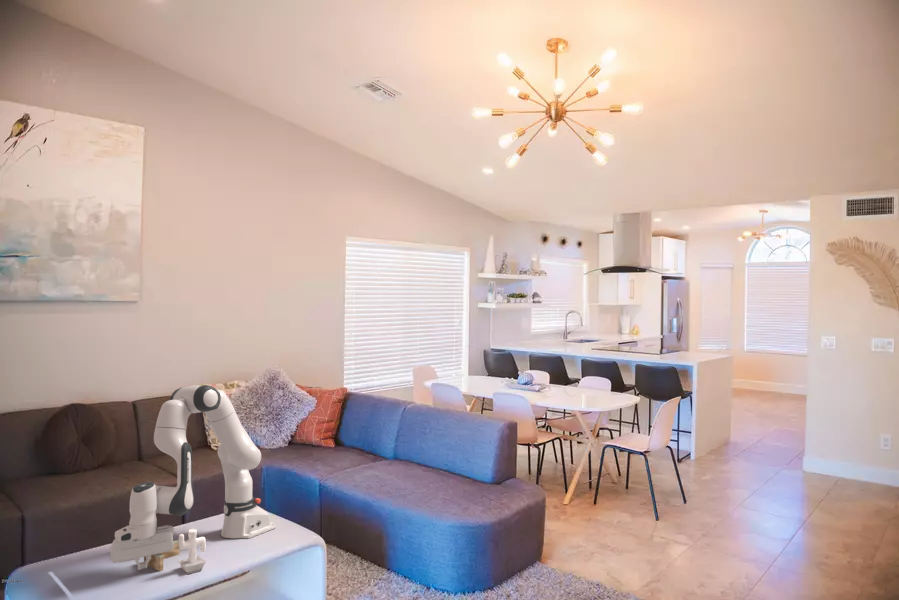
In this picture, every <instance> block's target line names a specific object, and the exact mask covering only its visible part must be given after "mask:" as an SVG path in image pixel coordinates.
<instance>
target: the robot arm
mask: <svg viewBox="0 0 899 600" xmlns="http://www.w3.org/2000/svg"><path fill="white" fill-rule="evenodd" d="M198 413H204V414H205V415H206V419H207V420H208V423H209V425H210V427H211V429H212V431H213V433H214V436H215V438H216V439H217V440H218V441H219V442H220V444H219V445H218V448H217V456H218V458H219V460H220V463H221V468H222V473H223V476H224V477H223V478H224V500H223V514H224V516H223V524H222V529H221V532H220V536H221V537H223V538H224V539H225V538H226V539H250V538H253V537H256V536H258V535H262V534H264V533H266V532H269V531H271V530H273V529H276V523H275V522H273V521H271V518H270V514H269V513H268V511H267V510H265V509H264V508H263V507H260V506H259V504H261V502H262V500H261V498H259V497H257V498H256V497H254V496H253V477H252V475H251V474H250V471H251V470H253V469H255V468H256V467H258V466H259V464H260V462H261V460H262V452H261V450H260V449H259V447H257V446H256V444H255V443H254V441H253V440H252V439H251V437H250V435H249V434H248V432H247V431H246V430H245V428H244V426H243V424H242V423H241V420H240V418H239V416H238V414H237V412H236V409H235V408H234V406H233V404H232V401H231V400H230V398H229V396H228V395H227V393H226V392H225V391H223V390H221V389H217V388H216V387H214V386H211V385H207V384H202V385H201V384H199V385H198V384H195V385H190V386H182V387H179V388H177V389H175V390H174V391H173V392H172V393H171V396H170V398H169V400H167V401H165V402H163V404H162V405H161V407H160V410H159V412H158V414H157V415H158V417H157V419H156V424H155V428H154V432H153V443H154V445H155V446H156V448H158V450H159V451H160V452H162V453H164V454H166V455H168V456H169V457H172V458H173V459H174V461H175V462H176V465H177V472H176V473H177V475H176V478H177V480H176V481H177V482H176V486H166V485H165V486H164V485H156V484H155V483H154V482H153V481H143V482H141V483H140V482H139V483H138V484H136V485H134V486H133V487H132V489H131V491H130V492H131V493H130V497H129V514H130V519H129V523H128V524H129V525H126V526H124V527H122V528H120V529H118V530H116V531H115V532H114V539H113V541H112V543H111V545H110V546H111V548H110V552H109V553H110V556H109V557H110V559H109V560H110V561H111V562H112V563H113V564H115V563H121V562H126V561H131V560H134V562H135V564H136V565H137V570H138V571H140V570H145V569H148V565H147V563H148V562H149V560H150V559H151V555H154V554H159V553H164V552H168V551H172V549H173V548H174V544H173V541H174V538H173V536H174V534H175V528H174V526H172V525H170V524H166V525H161V526H157V524H158V519H157V516H156V515H157V514H162V515H171V516H176V517H182V516H184V515H185V514H187V513H188V512H189V511H190V510H191V509H192V508H193V506H194V503H195V497H194V490H193V451H192V446H191V444H190V443H188V440H187V427H188V420H189V417H190V416H191V415H192V414H198ZM257 504H258V505H257ZM145 556H146V560H145V562H144V561H143V562H139V561H140V559H141V558H144V557H145Z"/></svg>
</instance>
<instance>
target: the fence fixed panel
mask: <svg viewBox="0 0 899 600" xmlns="http://www.w3.org/2000/svg"><path fill="white" fill-rule="evenodd" d="M173 544H174V548H173V549H172V551H168V552H164V553H160V554H162V555H164V557H163V560H165V559H168V558H172V557H176V556H180V551H181V550H180V549H179V539H177V540H173Z"/></svg>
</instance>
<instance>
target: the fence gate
mask: <svg viewBox="0 0 899 600" xmlns="http://www.w3.org/2000/svg"><path fill="white" fill-rule="evenodd" d="M163 557H164V555H162V554H160V553H159V554H154V555H151V559H150V560H149V562H148V563H147V567H150V568H153V569H154V570H156V571H159V572H162V571H164V559H163ZM145 560H146V556H145V557H143V562H145Z"/></svg>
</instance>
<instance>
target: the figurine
mask: <svg viewBox="0 0 899 600" xmlns="http://www.w3.org/2000/svg"><path fill="white" fill-rule="evenodd" d="M187 532H188V535H187V537H188V539H187V540H185V535H184V534H183V533H180V534H179V535H178V540H179V549H180V551H183V550H188V558H185V559H181V560H179V561H178V563H179V565H180V567H181V569H182V570H184V571H185V572H186V573H187V575H188V576H189V575H194V574H197V573H200V572H201V571H202V569H204V566H205V565H206V562H207V560H205V559H203V558H202V557H201V556H200V555H197V547H199V546H200V552H203V553H205V552H206V549H207V543H206V541H207V540H206V537H205V536H200V537H197V534H198V530H197V529H195V528H190V529H188V531H187Z"/></svg>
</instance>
